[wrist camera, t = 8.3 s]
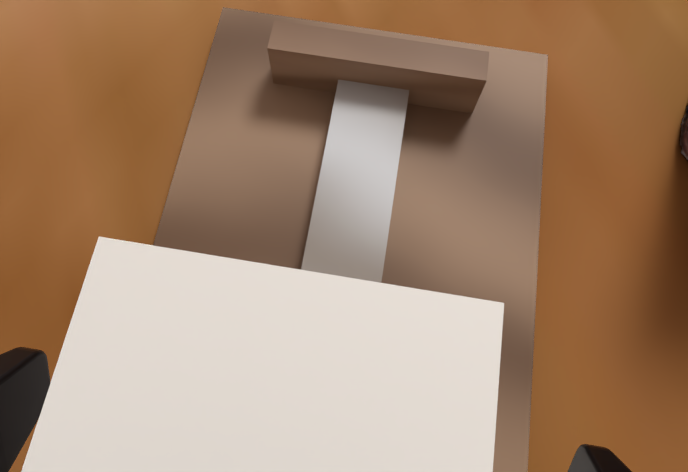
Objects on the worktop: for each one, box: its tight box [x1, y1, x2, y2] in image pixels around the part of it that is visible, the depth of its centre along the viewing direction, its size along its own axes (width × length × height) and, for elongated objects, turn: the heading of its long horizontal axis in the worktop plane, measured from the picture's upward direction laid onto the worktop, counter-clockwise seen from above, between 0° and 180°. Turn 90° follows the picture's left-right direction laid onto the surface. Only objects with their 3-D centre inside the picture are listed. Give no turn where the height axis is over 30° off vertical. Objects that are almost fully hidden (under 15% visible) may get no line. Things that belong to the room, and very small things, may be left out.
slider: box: [21, 237, 504, 472], centre depth 9 cm, size 6×6×11 cm
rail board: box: [153, 7, 548, 472], centre depth 16 cm, size 20×12×3 cm, turn 171°
